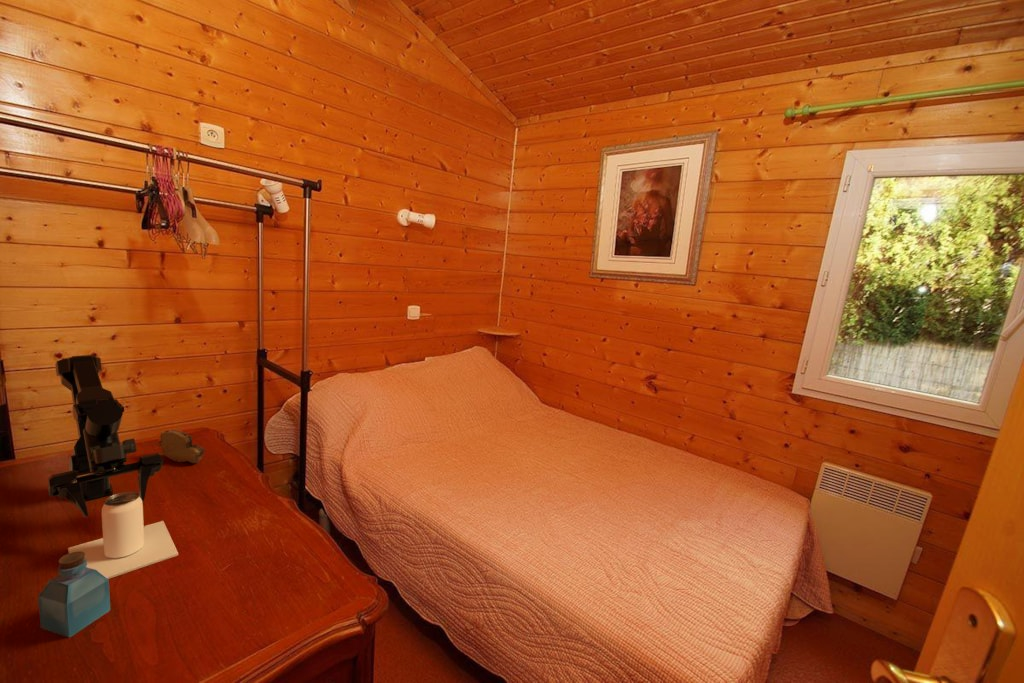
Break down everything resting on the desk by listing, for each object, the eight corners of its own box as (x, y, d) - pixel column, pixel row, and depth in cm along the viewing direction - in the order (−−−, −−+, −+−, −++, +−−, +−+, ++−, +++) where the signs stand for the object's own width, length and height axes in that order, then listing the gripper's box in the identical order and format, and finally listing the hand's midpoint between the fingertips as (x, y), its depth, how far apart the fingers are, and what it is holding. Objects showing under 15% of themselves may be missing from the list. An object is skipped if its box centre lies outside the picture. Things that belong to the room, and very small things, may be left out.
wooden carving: (210, 461, 135) (209, 431, 134) (197, 468, 131) (196, 436, 129) (165, 453, 138) (164, 423, 136) (151, 459, 133) (150, 428, 132)
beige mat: (68, 549, 92) (68, 547, 92) (163, 522, 104) (163, 520, 104) (73, 590, 82) (73, 588, 82) (178, 555, 93) (178, 553, 93)
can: (141, 555, 92) (138, 502, 90) (100, 563, 89) (96, 509, 87) (147, 537, 97) (145, 488, 95) (109, 544, 94) (105, 493, 92)
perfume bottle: (69, 637, 72) (64, 573, 70) (41, 628, 73) (35, 564, 71) (110, 610, 78) (106, 550, 76) (83, 602, 79) (79, 543, 77)
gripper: (45, 439, 88) (56, 511, 83) (160, 420, 103) (175, 480, 98) (43, 462, 94) (54, 530, 89) (152, 441, 109) (166, 499, 104)
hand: (115, 508), depth 95 cm, fingers open, 9 cm apart
